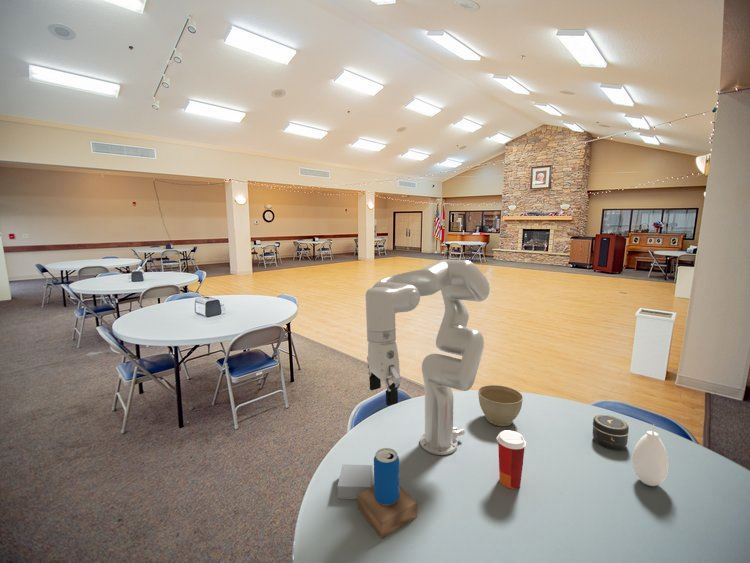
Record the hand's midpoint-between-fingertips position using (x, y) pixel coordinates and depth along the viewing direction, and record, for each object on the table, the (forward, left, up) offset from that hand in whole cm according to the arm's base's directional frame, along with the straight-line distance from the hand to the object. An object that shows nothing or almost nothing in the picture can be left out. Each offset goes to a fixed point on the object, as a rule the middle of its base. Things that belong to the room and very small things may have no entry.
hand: (383, 396), depth 91 cm
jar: (-80, +12, -29) cm, 85 cm away
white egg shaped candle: (-70, +29, -29) cm, 80 cm away
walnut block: (+2, +7, -28) cm, 29 cm away
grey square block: (+6, -5, -29) cm, 30 cm away
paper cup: (-35, +12, -29) cm, 46 cm away
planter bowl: (-57, -15, -29) cm, 65 cm away
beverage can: (+2, +6, -25) cm, 25 cm away
